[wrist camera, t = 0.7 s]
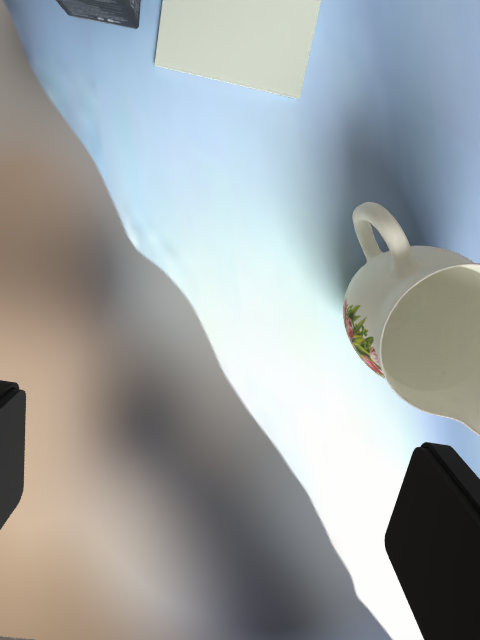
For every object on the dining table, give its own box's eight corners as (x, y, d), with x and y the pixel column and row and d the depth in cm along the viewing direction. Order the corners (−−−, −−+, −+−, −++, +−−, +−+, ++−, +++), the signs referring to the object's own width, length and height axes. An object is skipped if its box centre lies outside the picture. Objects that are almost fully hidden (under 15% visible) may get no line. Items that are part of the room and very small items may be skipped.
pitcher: (394, 169, 36) (488, 152, 23) (471, 336, 41) (586, 403, 28) (285, 234, 38) (313, 254, 24) (370, 389, 42) (434, 477, 29)
